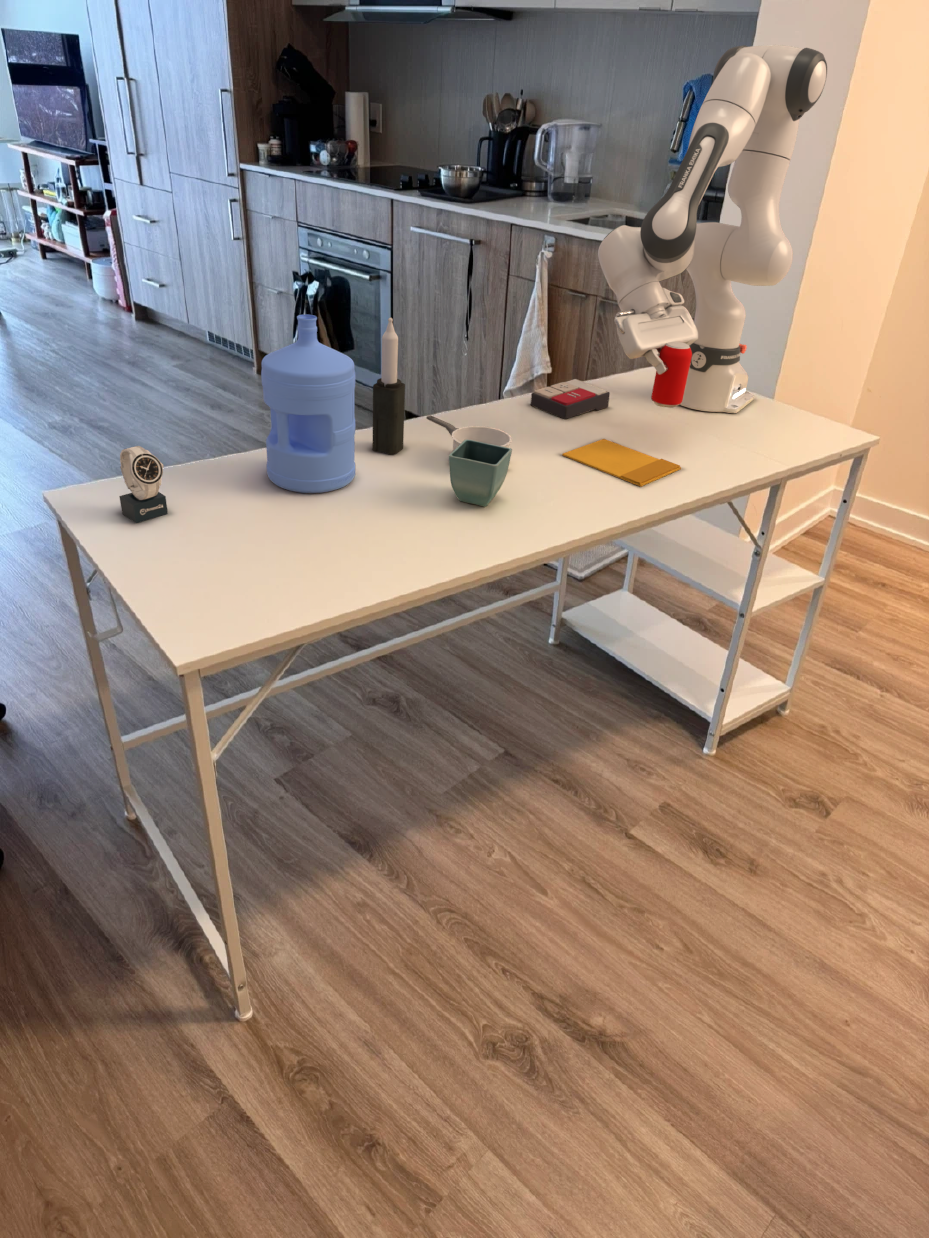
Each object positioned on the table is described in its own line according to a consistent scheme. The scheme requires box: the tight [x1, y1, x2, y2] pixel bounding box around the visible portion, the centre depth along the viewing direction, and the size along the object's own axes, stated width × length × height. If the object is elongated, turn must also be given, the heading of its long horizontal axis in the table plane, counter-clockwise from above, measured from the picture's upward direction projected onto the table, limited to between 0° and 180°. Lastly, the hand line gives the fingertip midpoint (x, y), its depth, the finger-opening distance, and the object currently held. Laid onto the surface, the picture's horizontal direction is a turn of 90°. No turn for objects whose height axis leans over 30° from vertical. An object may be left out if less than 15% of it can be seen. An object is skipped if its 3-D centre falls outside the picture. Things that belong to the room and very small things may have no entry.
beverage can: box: [650, 342, 692, 409], centre depth 171 cm, size 6×6×12 cm
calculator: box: [530, 378, 611, 420], centre depth 197 cm, size 11×4×15 cm
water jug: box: [260, 313, 356, 494], centre depth 147 cm, size 16×16×28 cm
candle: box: [371, 317, 406, 456], centre depth 162 cm, size 5×5×25 cm
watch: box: [119, 445, 169, 524], centre depth 135 cm, size 6×8×11 cm
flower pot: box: [448, 439, 513, 507], centre depth 149 cm, size 9×9×9 cm
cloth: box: [561, 438, 682, 488], centre depth 171 cm, size 14×19×1 cm
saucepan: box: [425, 414, 513, 452], centre depth 166 cm, size 12×20×6 cm, turn 47°
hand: (675, 370), depth 170 cm, fingers closed on beverage can, 6 cm apart
